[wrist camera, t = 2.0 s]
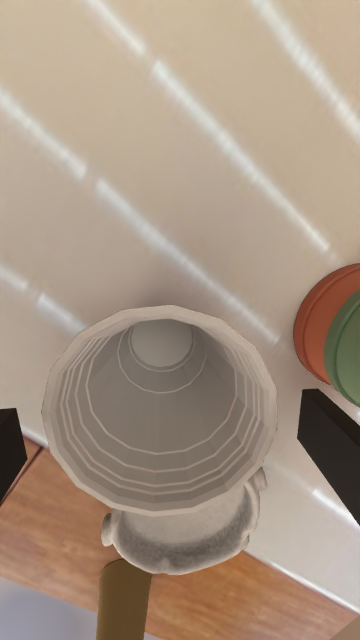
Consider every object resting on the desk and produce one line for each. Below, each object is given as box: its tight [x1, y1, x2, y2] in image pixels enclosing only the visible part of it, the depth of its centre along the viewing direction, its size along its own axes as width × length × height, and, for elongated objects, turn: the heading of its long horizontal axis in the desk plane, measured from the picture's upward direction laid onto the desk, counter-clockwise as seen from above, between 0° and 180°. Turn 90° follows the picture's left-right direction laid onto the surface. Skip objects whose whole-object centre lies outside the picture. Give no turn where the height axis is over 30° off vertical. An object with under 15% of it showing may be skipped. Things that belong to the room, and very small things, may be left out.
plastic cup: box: [41, 305, 277, 517], centre depth 17 cm, size 11×11×12 cm
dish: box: [101, 466, 267, 575], centre depth 25 cm, size 14×14×5 cm
